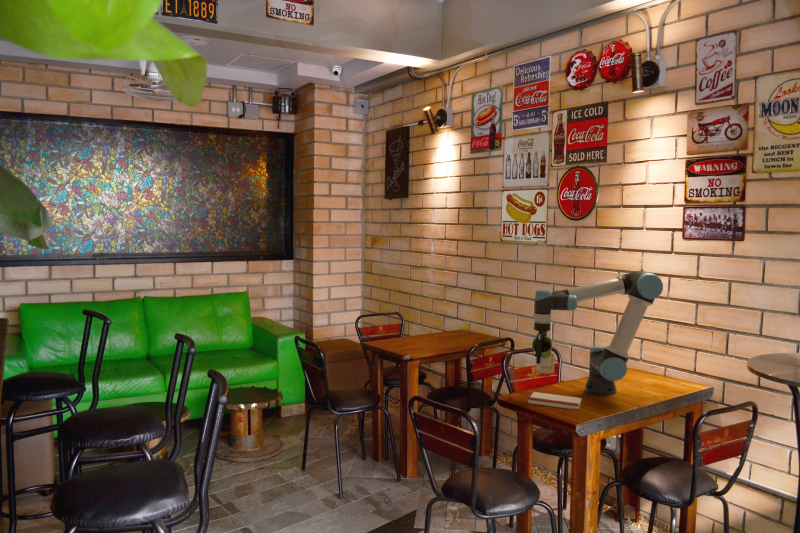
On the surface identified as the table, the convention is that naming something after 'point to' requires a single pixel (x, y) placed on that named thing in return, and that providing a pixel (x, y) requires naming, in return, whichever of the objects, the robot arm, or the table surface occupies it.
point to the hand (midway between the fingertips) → (540, 367)
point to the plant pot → (546, 344)
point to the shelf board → (555, 400)
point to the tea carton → (547, 365)
